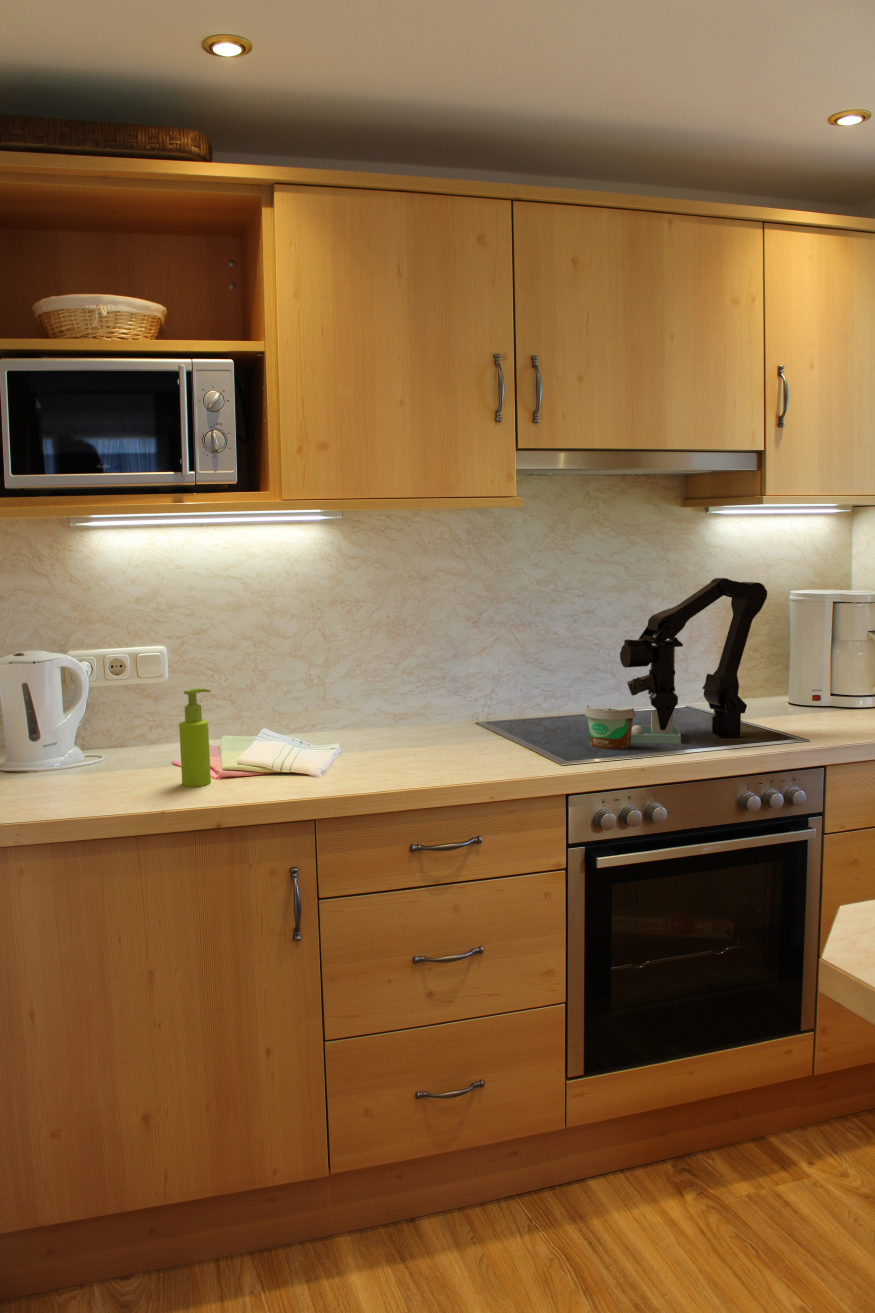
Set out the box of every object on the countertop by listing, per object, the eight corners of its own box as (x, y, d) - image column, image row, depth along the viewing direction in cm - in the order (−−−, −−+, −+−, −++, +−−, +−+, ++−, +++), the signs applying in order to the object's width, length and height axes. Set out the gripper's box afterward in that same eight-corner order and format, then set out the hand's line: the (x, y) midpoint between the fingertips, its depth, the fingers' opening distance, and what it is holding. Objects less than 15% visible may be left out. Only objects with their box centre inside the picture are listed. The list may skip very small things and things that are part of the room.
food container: (577, 750, 222) (577, 708, 221) (586, 745, 228) (586, 704, 227) (628, 754, 217) (628, 712, 216) (635, 749, 222) (635, 708, 221)
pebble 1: (642, 735, 236) (642, 724, 235) (642, 737, 233) (642, 726, 233) (631, 734, 236) (631, 724, 236) (631, 737, 233) (631, 726, 233)
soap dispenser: (220, 781, 198) (216, 688, 196) (192, 788, 193) (187, 692, 191) (204, 777, 202) (200, 686, 200) (176, 784, 197) (171, 690, 194)
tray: (677, 735, 237) (677, 726, 237) (680, 746, 225) (680, 735, 225) (624, 735, 239) (624, 725, 239) (624, 744, 227) (625, 734, 227)
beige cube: (671, 730, 233) (671, 710, 233) (672, 734, 228) (673, 714, 228) (651, 729, 234) (651, 710, 234) (651, 733, 229) (652, 713, 229)
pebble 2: (643, 738, 232) (643, 727, 231) (643, 740, 229) (643, 729, 229) (631, 738, 232) (631, 727, 232) (631, 740, 230) (631, 729, 229)
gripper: (628, 660, 240) (628, 720, 242) (630, 670, 222) (629, 734, 224) (672, 660, 238) (672, 721, 240) (678, 670, 220) (677, 735, 222)
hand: (662, 727), depth 231 cm, fingers closed on beige cube, 5 cm apart
